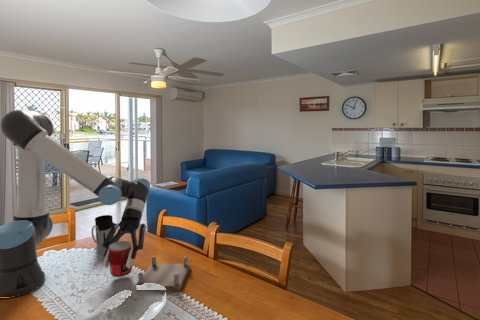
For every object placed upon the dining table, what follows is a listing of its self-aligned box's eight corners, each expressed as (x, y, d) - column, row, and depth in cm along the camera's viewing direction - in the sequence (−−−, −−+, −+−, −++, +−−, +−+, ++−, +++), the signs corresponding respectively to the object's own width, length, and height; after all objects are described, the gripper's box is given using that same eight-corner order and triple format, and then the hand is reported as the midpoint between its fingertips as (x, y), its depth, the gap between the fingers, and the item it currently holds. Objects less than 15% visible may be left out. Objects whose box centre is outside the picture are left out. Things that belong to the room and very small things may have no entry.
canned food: (124, 278, 103) (123, 250, 102) (105, 276, 105) (103, 248, 103) (136, 268, 110) (135, 241, 109) (118, 266, 112) (116, 239, 111)
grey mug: (119, 243, 139) (117, 214, 138) (103, 256, 125) (101, 224, 124) (102, 243, 140) (100, 214, 138) (84, 256, 126) (82, 224, 124)
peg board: (135, 290, 99) (134, 276, 99) (152, 267, 115) (151, 255, 114) (179, 291, 98) (179, 276, 98) (190, 268, 114) (189, 255, 114)
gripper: (160, 216, 120) (146, 270, 106) (113, 215, 121) (94, 269, 107) (155, 208, 114) (140, 264, 100) (105, 207, 115) (84, 262, 101)
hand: (116, 266), depth 104 cm, fingers closed on canned food, 8 cm apart
